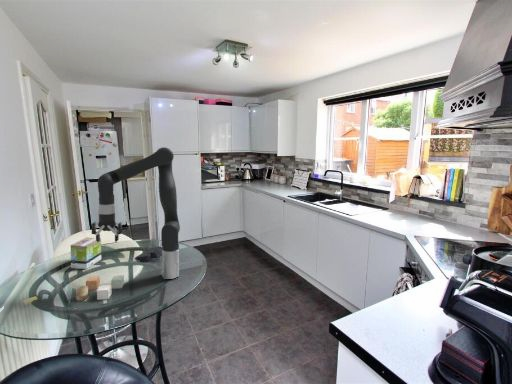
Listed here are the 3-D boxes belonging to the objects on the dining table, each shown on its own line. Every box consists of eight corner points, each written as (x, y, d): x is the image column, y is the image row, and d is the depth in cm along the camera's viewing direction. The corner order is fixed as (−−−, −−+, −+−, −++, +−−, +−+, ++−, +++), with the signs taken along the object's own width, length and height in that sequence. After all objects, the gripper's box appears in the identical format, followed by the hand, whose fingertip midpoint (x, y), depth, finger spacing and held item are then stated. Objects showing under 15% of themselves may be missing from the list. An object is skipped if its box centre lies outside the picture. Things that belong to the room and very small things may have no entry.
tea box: (87, 269, 160) (86, 246, 158) (70, 268, 161) (69, 245, 158) (102, 259, 175) (101, 237, 173) (86, 258, 175) (85, 236, 173)
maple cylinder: (90, 294, 135) (89, 285, 134) (86, 300, 130) (85, 291, 129) (78, 295, 134) (78, 286, 133) (74, 301, 129) (73, 291, 128)
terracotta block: (100, 284, 145) (99, 276, 144) (96, 289, 140) (96, 280, 139) (89, 285, 144) (89, 276, 143) (86, 290, 139) (85, 281, 138)
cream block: (111, 293, 137) (111, 284, 136) (108, 299, 132) (108, 289, 132) (100, 294, 136) (100, 285, 135) (97, 299, 131) (97, 290, 131)
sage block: (124, 283, 148) (123, 275, 147) (121, 288, 143) (121, 279, 142) (114, 284, 147) (113, 275, 146) (111, 288, 142) (111, 280, 141)
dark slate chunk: (169, 251, 195) (169, 245, 195) (153, 263, 174) (153, 257, 173) (150, 248, 198) (150, 242, 197) (132, 260, 177) (131, 254, 176)
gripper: (123, 210, 145) (123, 239, 148) (94, 209, 142) (95, 239, 145) (119, 214, 138) (119, 244, 141) (88, 213, 135) (89, 244, 137)
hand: (107, 241), depth 143 cm, fingers open, 8 cm apart
